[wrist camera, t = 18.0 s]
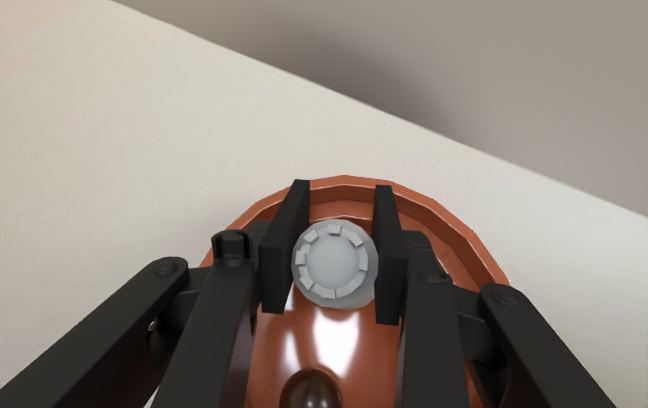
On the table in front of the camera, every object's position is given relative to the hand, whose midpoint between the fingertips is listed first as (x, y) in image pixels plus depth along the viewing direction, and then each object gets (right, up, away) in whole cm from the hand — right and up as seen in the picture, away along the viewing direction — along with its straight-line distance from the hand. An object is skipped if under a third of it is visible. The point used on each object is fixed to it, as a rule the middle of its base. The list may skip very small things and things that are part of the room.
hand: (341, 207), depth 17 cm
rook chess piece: (0, -4, +2) cm, 4 cm away
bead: (-1, -9, -1) cm, 9 cm away
